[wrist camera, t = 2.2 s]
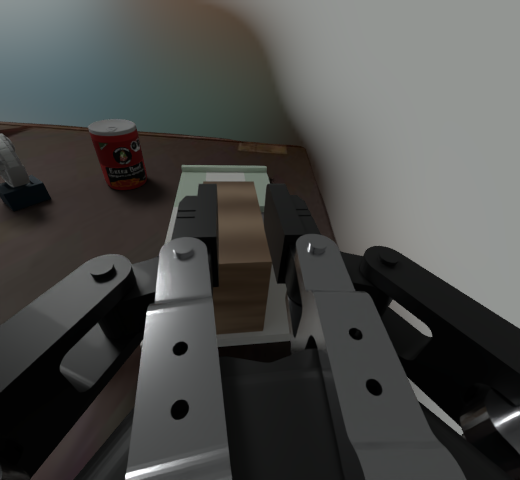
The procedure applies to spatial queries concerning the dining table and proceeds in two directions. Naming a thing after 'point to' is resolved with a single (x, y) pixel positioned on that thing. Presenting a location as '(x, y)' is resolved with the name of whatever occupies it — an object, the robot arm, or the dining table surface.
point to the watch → (18, 180)
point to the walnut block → (240, 260)
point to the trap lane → (196, 174)
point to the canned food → (119, 153)
